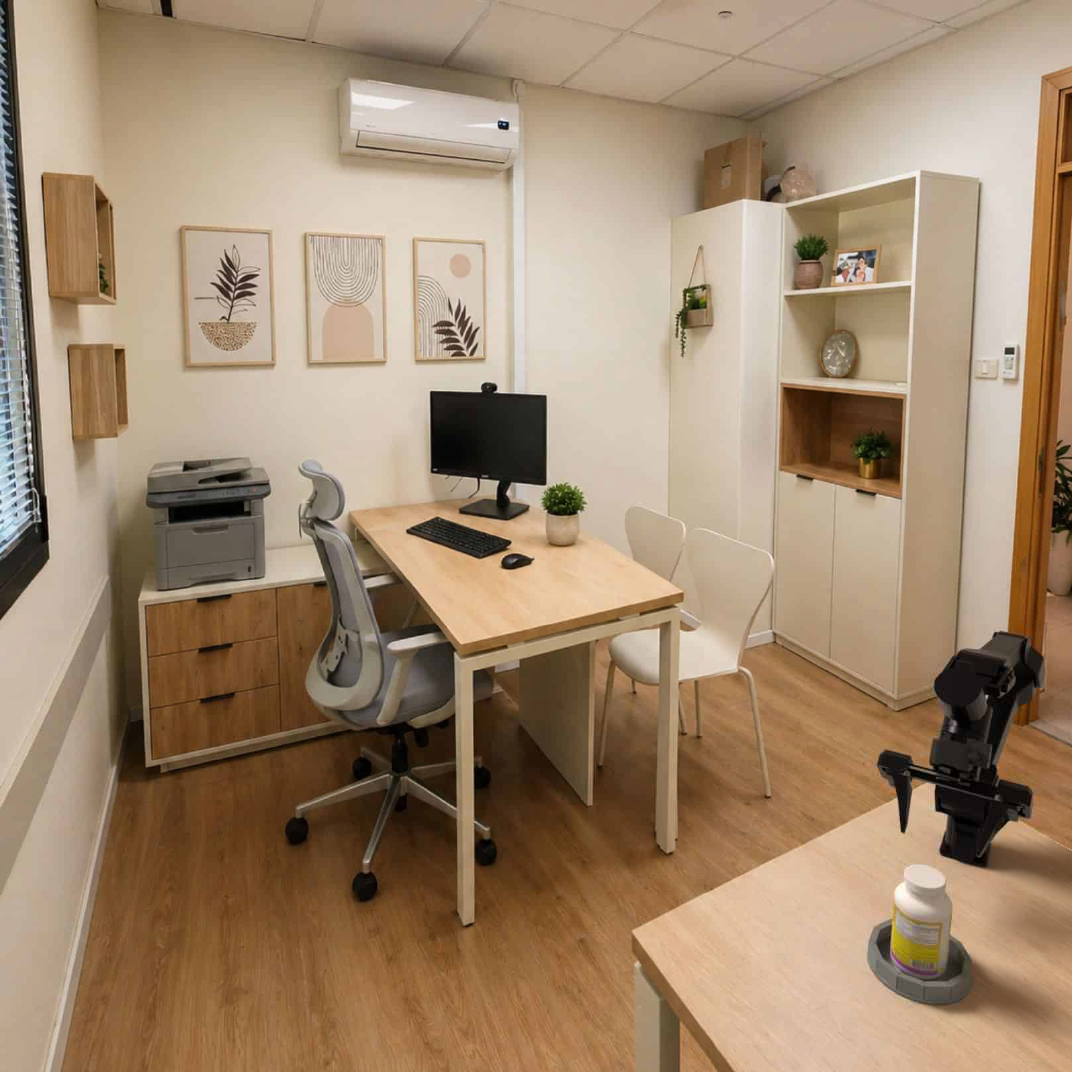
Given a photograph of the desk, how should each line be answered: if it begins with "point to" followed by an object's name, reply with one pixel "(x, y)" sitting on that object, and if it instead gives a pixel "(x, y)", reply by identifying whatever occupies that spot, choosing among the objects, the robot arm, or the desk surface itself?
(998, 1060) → the desk surface
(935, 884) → the supplement bottle
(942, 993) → the grey round tray
